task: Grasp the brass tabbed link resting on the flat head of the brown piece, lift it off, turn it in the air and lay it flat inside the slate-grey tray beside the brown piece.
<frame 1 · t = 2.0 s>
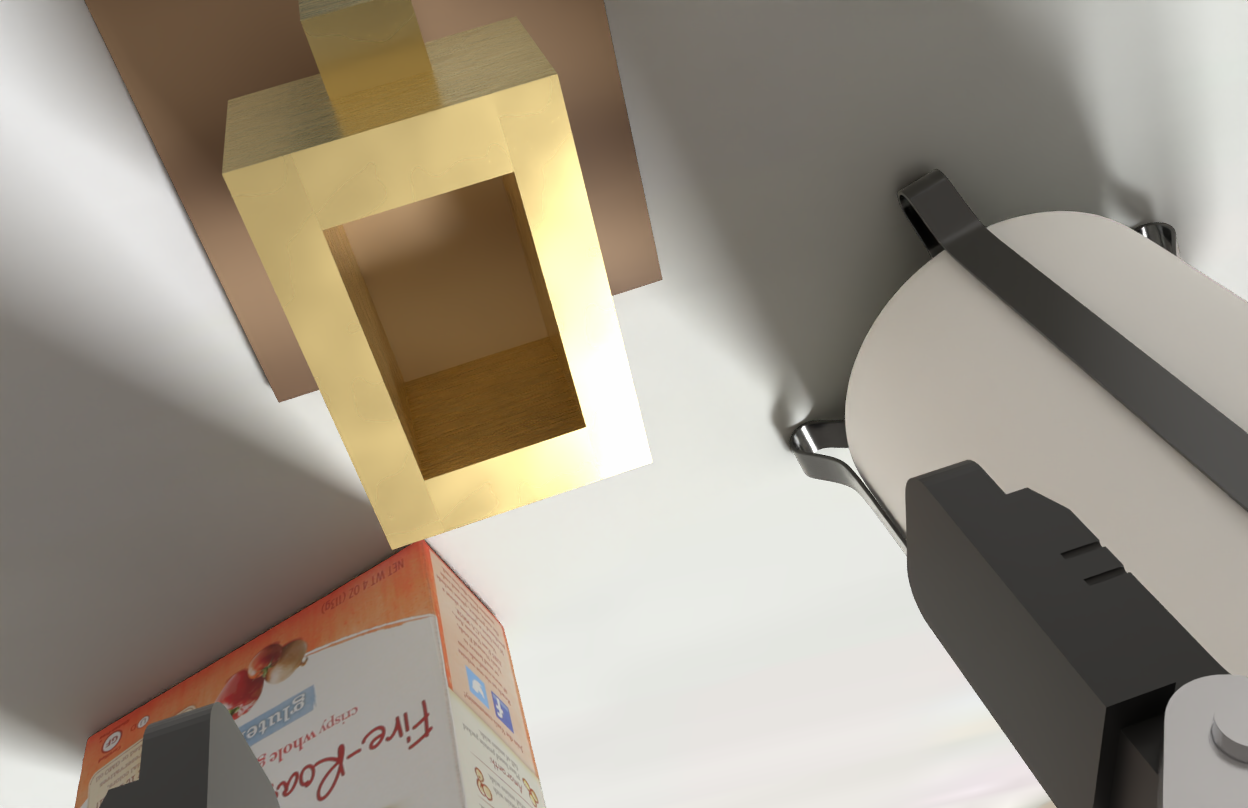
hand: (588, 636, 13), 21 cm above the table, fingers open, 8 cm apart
cracker box: (295, 671, 40), on the table
coffee press: (1002, 333, 40), on the table
brown piece: (409, 150, 30), on the table
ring: (440, 251, 25), point 6 cm above the table, touching brown piece
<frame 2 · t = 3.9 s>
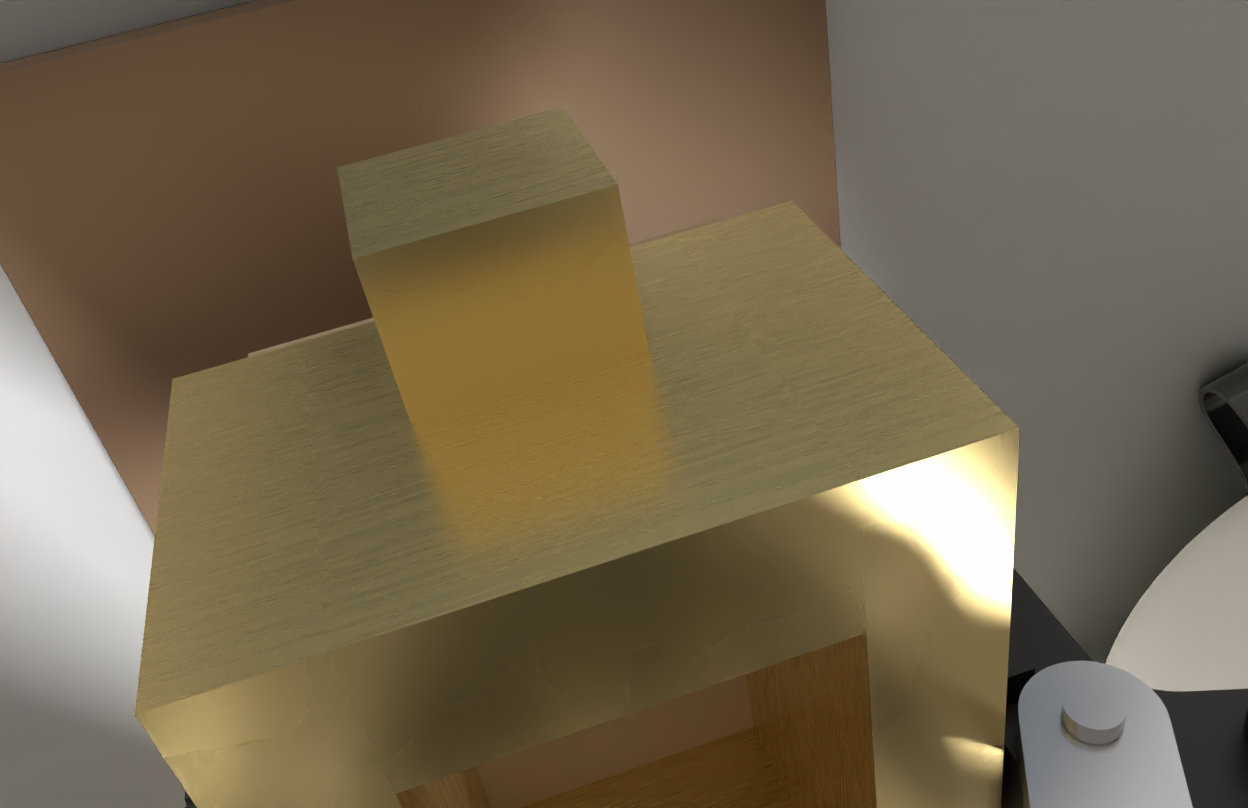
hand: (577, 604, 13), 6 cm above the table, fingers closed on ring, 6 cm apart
brown piece: (489, 343, 18), on the table
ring: (583, 615, 13), point 6 cm above the table, touching gripper, brown piece
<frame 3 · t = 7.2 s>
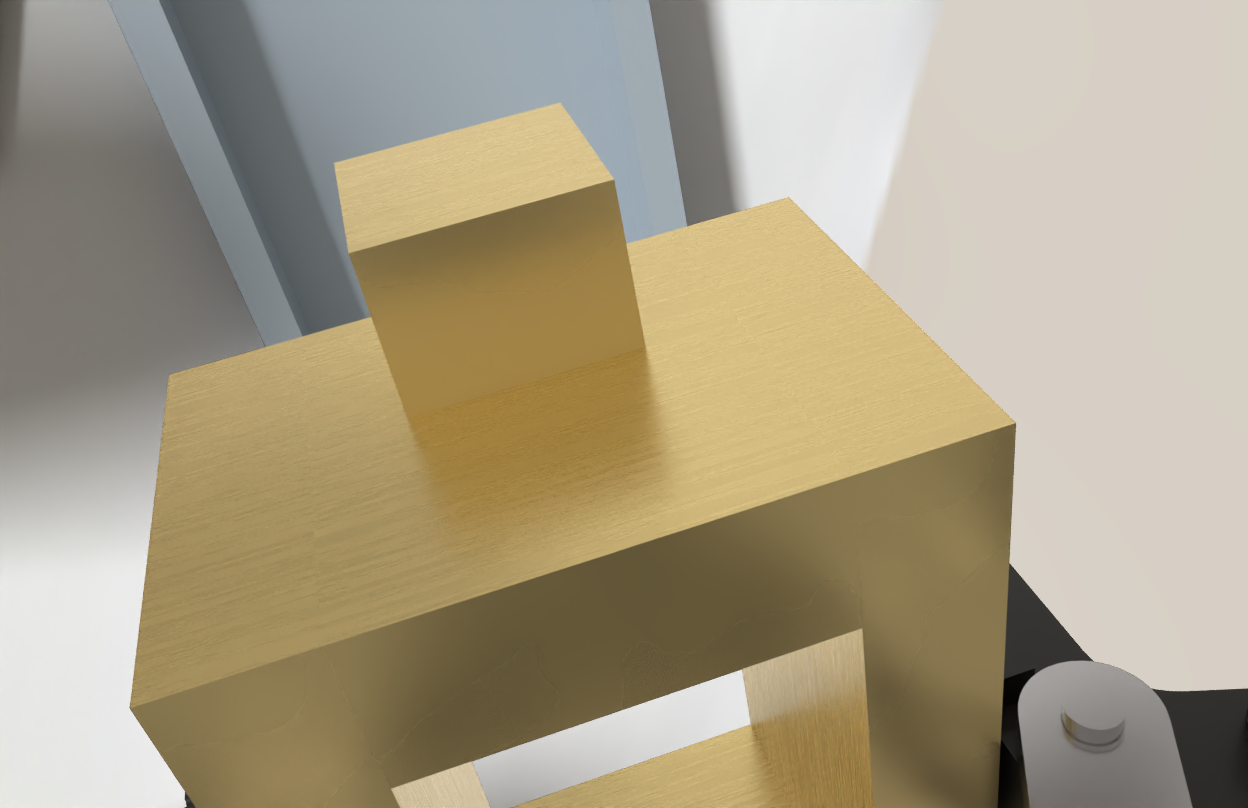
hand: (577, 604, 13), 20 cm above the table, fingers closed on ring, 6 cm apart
tray: (428, 120, 30), on the table
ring: (581, 613, 13), point 20 cm above the table, touching gripper
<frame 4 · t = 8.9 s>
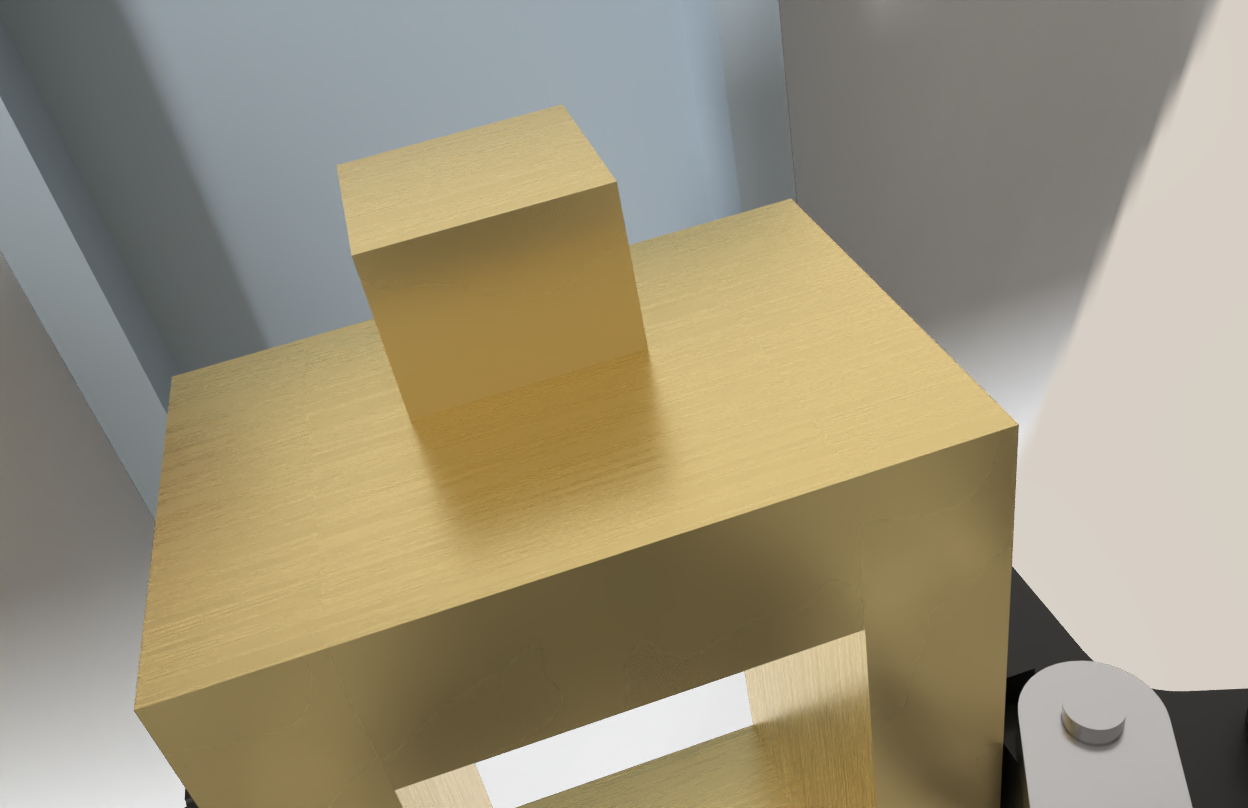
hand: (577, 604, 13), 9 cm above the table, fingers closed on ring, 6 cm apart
tray: (442, 254, 20), on the table
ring: (583, 614, 13), point 9 cm above the table, touching gripper
when the fingers open (3 cm above the table, at t = 10.5 s): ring drops 2 cm, resting on tray.
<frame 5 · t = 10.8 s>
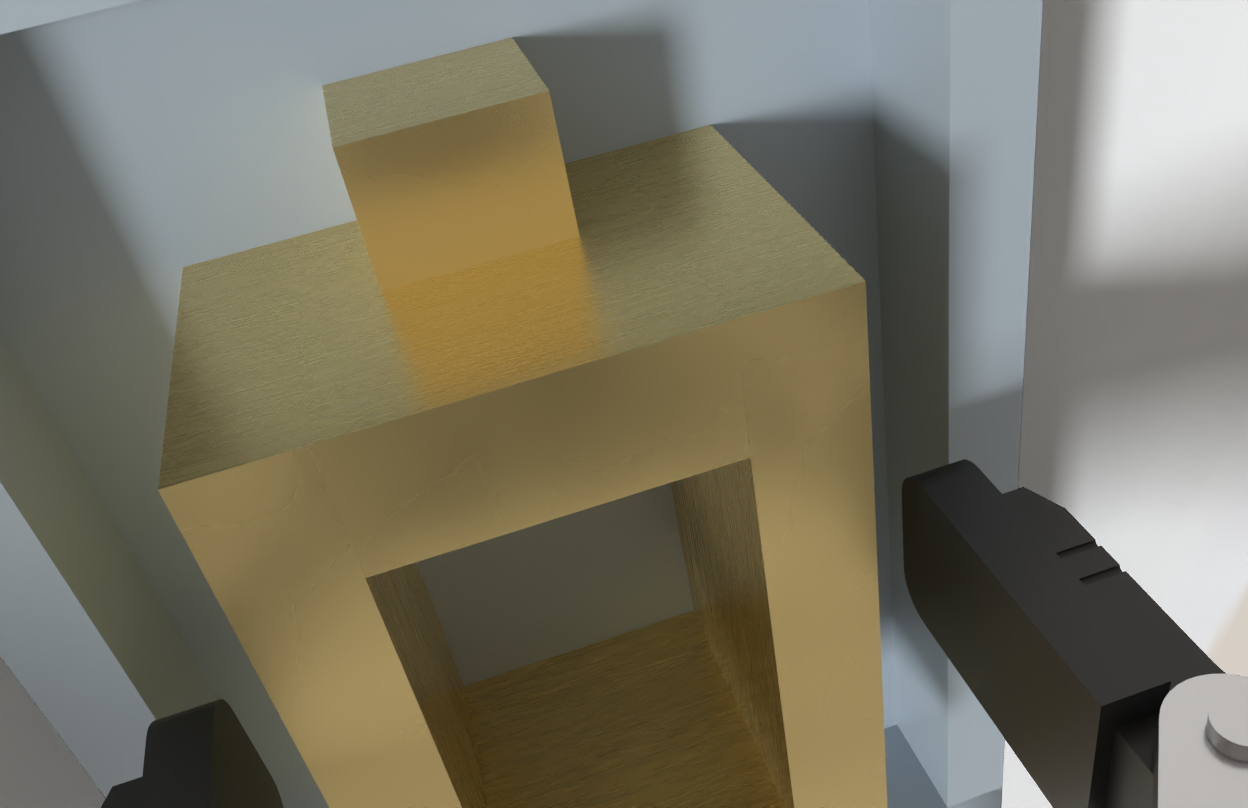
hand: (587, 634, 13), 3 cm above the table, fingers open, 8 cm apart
tray: (530, 468, 15), on the table
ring: (538, 498, 15), point 1 cm above the table, touching tray
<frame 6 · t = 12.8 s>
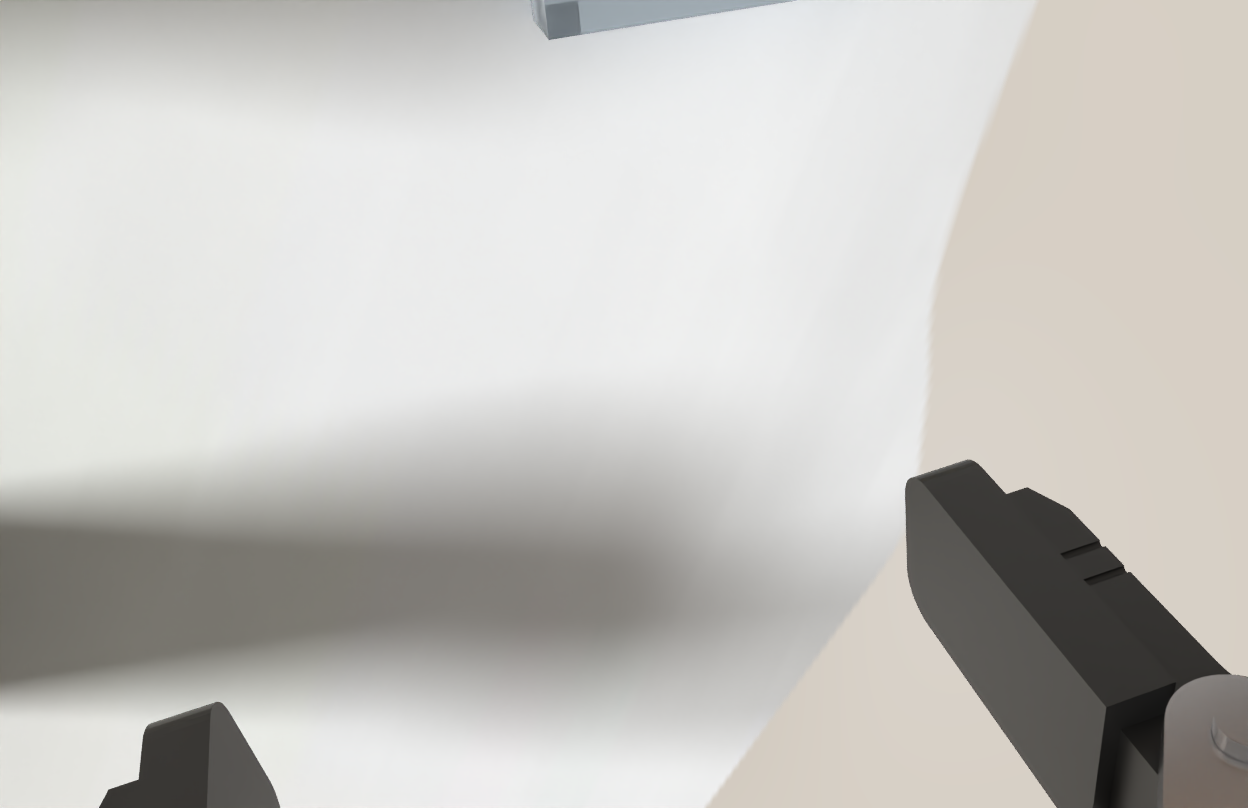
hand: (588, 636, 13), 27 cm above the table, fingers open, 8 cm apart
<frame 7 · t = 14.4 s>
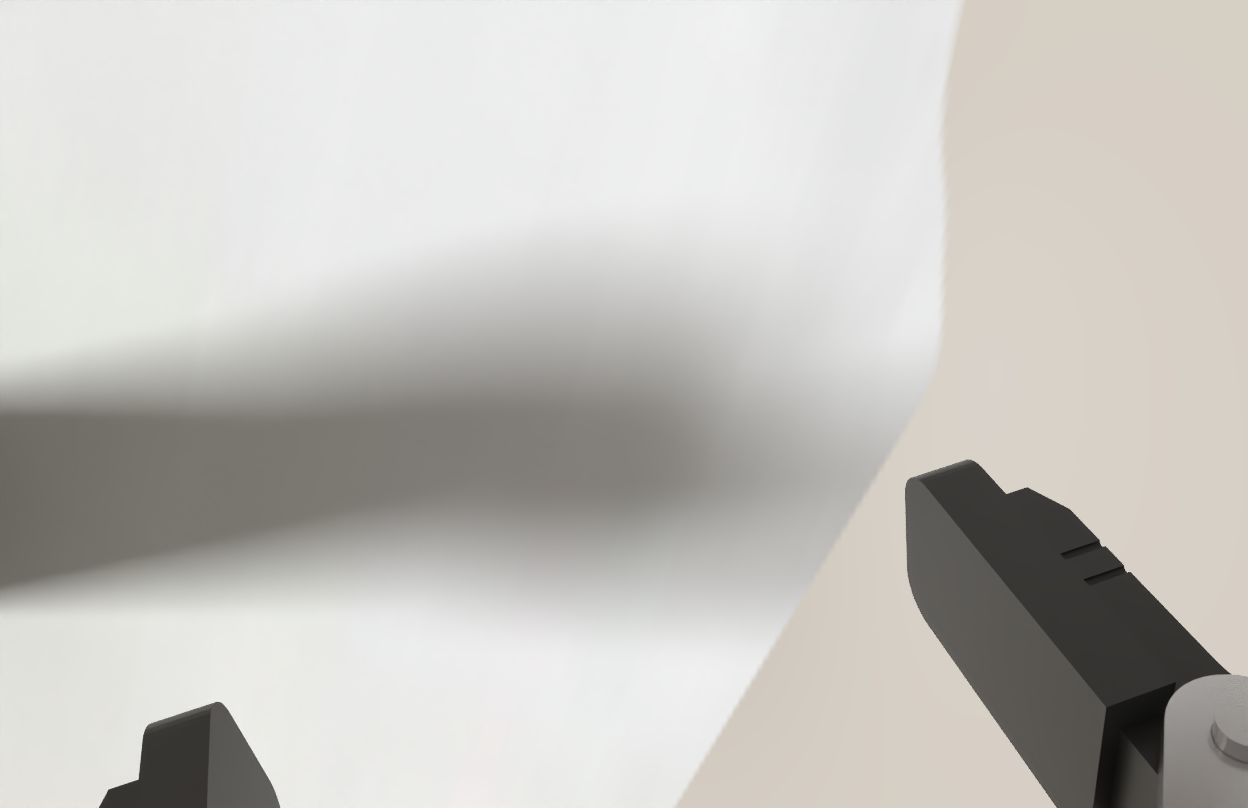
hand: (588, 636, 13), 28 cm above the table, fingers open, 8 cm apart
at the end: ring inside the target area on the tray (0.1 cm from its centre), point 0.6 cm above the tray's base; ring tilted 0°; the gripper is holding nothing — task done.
